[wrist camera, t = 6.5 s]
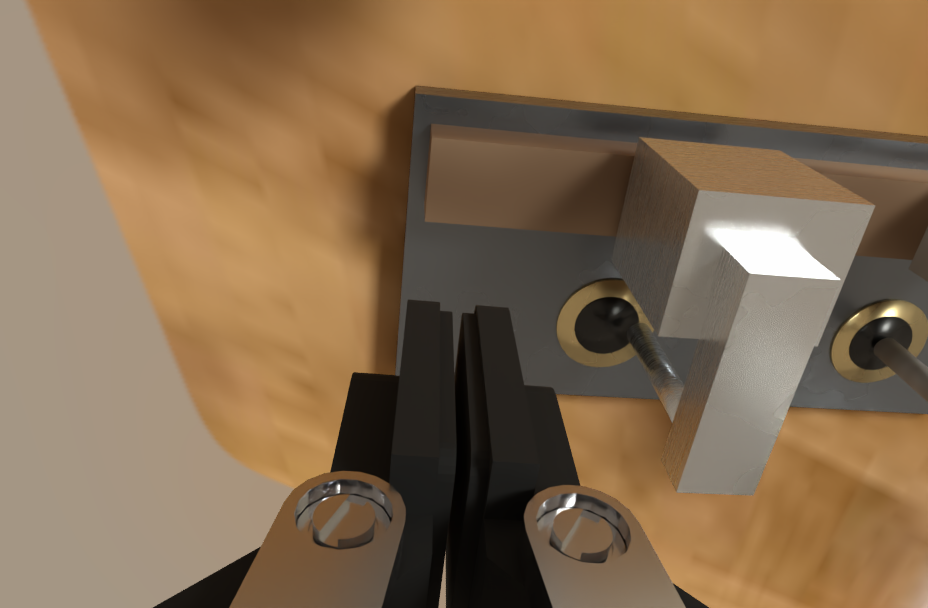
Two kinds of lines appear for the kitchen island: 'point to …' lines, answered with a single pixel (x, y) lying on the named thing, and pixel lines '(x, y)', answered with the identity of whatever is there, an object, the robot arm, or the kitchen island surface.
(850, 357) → the bolt plate
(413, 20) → the kitchen island surface
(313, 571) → the robot arm
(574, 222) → the frame
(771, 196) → the sliding leg
